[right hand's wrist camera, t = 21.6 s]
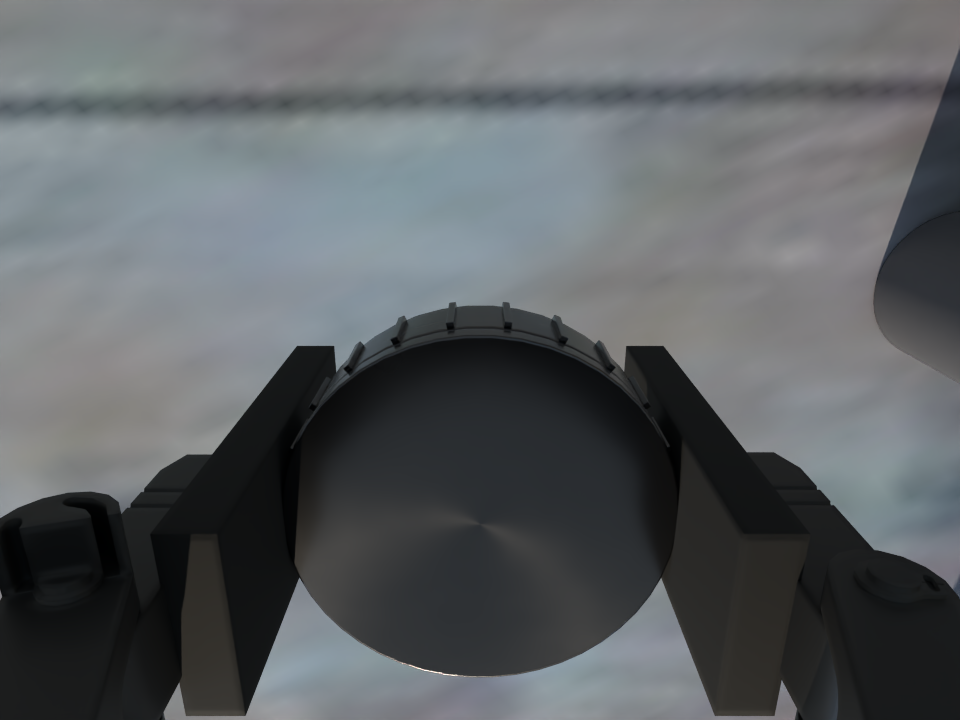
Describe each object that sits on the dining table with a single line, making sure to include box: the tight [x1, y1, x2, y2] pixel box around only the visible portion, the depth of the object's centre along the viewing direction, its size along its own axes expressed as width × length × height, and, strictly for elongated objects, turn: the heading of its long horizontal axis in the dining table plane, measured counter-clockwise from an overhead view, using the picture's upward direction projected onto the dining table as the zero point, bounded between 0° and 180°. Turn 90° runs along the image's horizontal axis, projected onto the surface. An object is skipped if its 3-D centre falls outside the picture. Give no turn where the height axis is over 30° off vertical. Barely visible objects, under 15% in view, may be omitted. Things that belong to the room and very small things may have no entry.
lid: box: [282, 302, 679, 677], centre depth 11 cm, size 6×6×2 cm
